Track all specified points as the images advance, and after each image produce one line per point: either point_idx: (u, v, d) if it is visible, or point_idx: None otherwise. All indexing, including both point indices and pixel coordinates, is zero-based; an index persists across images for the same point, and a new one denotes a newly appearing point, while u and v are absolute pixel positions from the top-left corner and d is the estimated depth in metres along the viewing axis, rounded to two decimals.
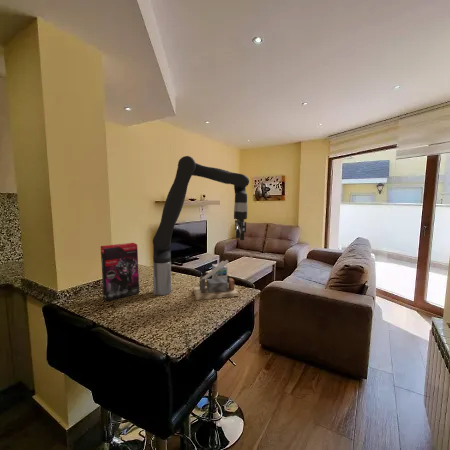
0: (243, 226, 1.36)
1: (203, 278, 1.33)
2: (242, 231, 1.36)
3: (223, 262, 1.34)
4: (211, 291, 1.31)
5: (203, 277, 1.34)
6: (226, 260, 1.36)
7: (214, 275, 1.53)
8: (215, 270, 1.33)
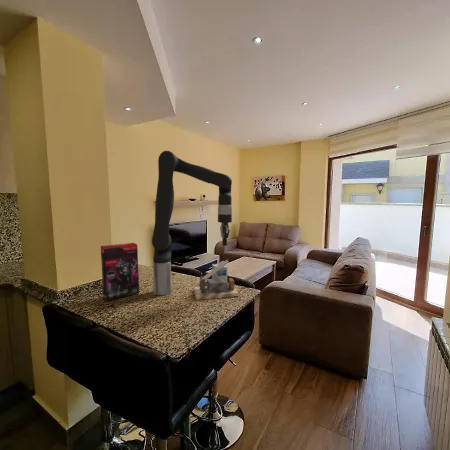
0: (226, 233, 1.30)
1: (203, 278, 1.33)
2: (224, 237, 1.31)
3: (223, 262, 1.34)
4: (211, 291, 1.31)
5: (203, 277, 1.34)
6: (226, 260, 1.36)
7: (214, 275, 1.53)
8: (215, 270, 1.33)
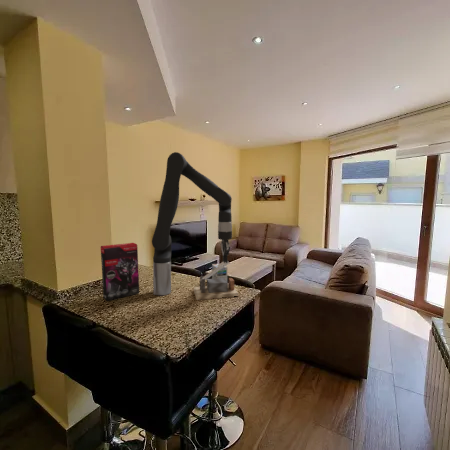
0: (226, 250, 1.30)
1: (203, 278, 1.33)
2: (225, 254, 1.32)
3: (224, 263, 1.34)
4: (211, 291, 1.31)
5: (203, 277, 1.35)
6: (227, 261, 1.37)
7: (214, 275, 1.53)
8: (215, 270, 1.34)
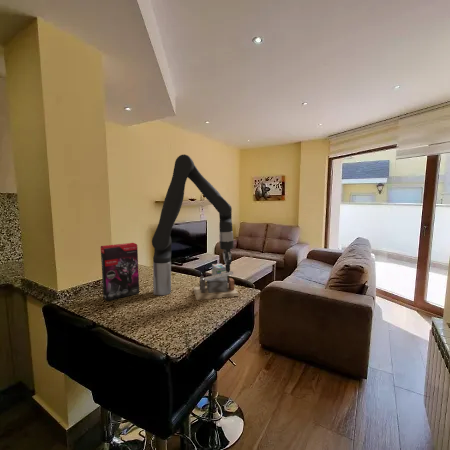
0: (228, 260, 1.31)
1: (204, 278, 1.33)
2: (227, 264, 1.33)
3: (228, 272, 1.35)
4: (211, 291, 1.31)
5: (204, 278, 1.35)
6: (231, 271, 1.38)
7: None
8: (218, 276, 1.34)
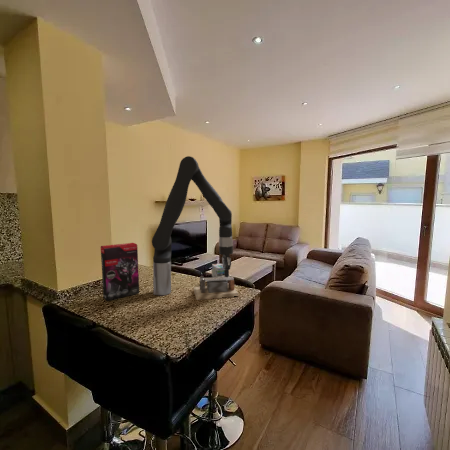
0: (227, 265, 1.31)
1: None
2: (226, 269, 1.33)
3: (229, 276, 1.35)
4: (211, 291, 1.31)
5: (204, 278, 1.35)
6: (232, 277, 1.38)
7: (214, 275, 1.53)
8: (218, 279, 1.34)
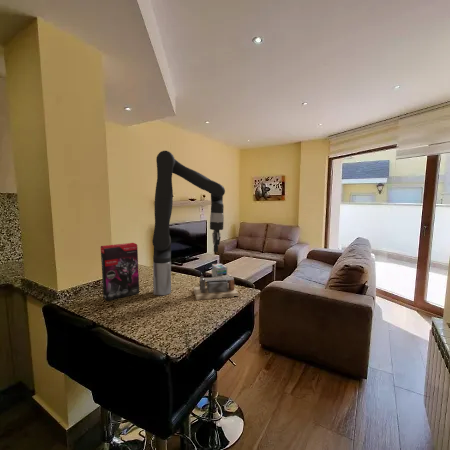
0: (217, 240, 1.35)
1: None
2: (215, 244, 1.36)
3: (229, 276, 1.35)
4: (211, 291, 1.31)
5: (204, 278, 1.35)
6: (232, 277, 1.38)
7: (214, 275, 1.53)
8: (218, 279, 1.34)
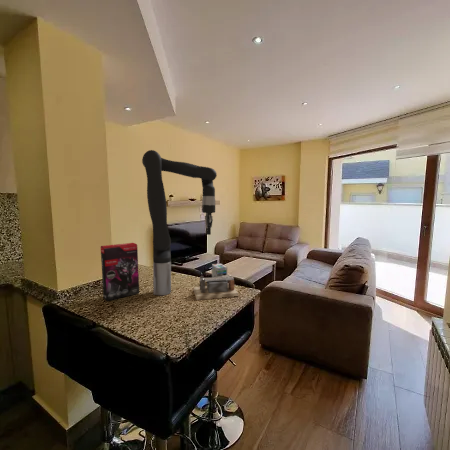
0: (209, 222, 1.38)
1: None
2: (208, 226, 1.40)
3: (229, 276, 1.35)
4: (211, 291, 1.31)
5: (204, 278, 1.35)
6: (232, 277, 1.38)
7: (214, 275, 1.53)
8: (218, 279, 1.34)
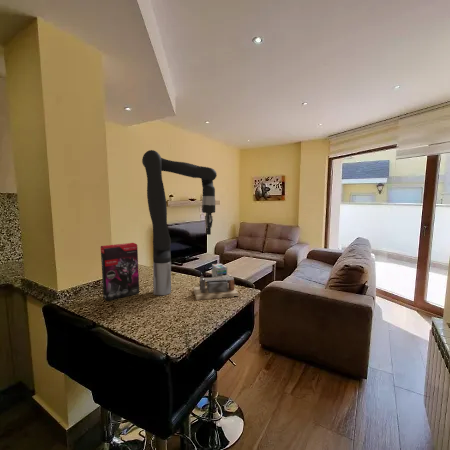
0: (209, 222, 1.38)
1: None
2: (208, 226, 1.40)
3: (229, 276, 1.35)
4: (211, 291, 1.31)
5: (204, 278, 1.35)
6: (232, 277, 1.38)
7: (214, 275, 1.53)
8: (218, 279, 1.34)
